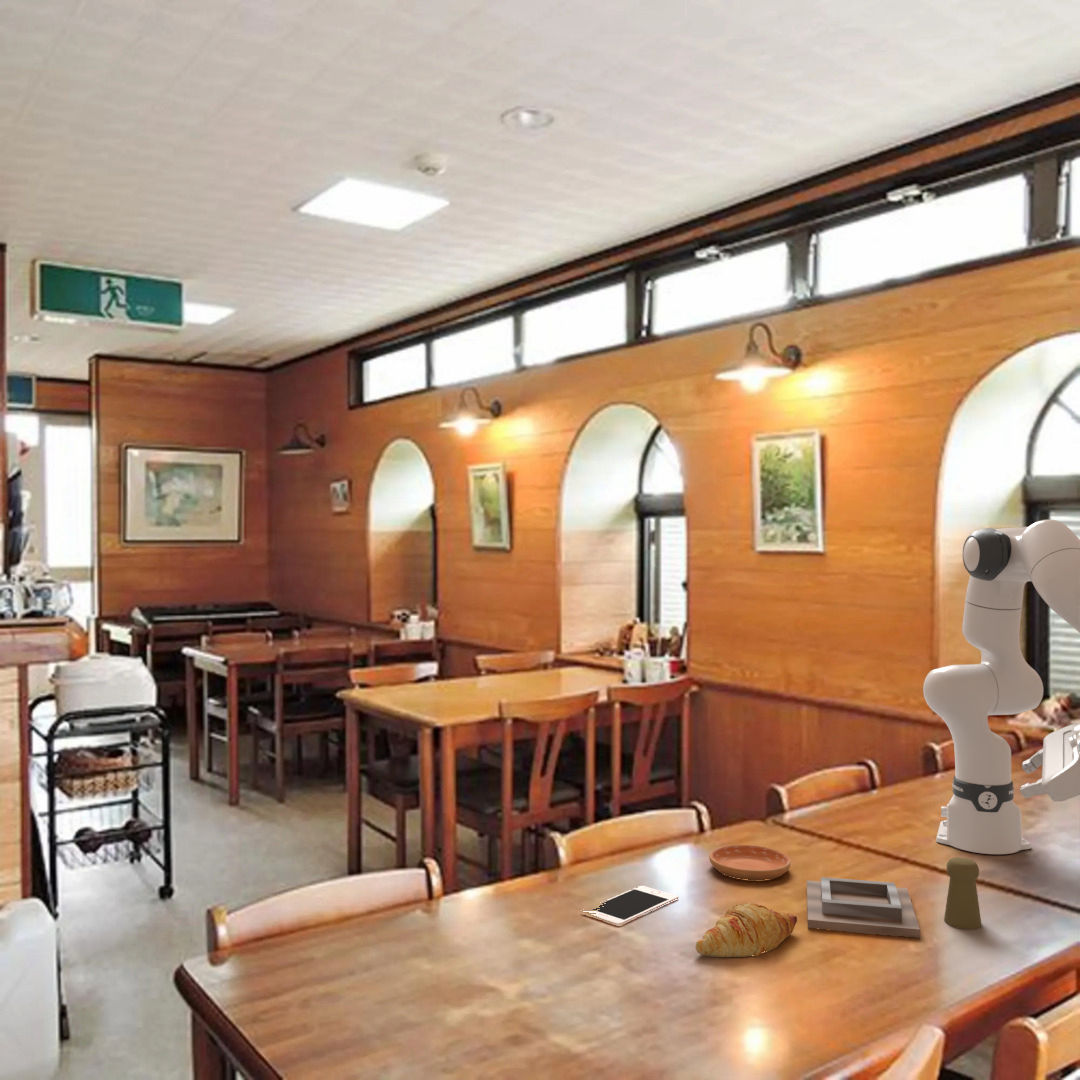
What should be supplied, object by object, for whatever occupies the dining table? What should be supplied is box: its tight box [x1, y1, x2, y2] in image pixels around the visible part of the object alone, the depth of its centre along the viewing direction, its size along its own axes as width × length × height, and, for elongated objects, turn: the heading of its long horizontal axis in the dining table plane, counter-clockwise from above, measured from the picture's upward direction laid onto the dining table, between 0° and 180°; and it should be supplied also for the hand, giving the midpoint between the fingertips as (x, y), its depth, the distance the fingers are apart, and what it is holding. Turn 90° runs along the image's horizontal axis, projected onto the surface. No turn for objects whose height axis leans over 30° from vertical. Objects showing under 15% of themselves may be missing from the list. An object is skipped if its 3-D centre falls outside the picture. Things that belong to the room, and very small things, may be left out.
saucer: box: [708, 844, 792, 880], centre depth 202 cm, size 16×16×3 cm
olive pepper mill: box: [943, 856, 983, 930], centre depth 175 cm, size 6×6×11 cm
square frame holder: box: [806, 876, 921, 939], centre depth 180 cm, size 20×18×4 cm
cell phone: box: [583, 885, 680, 924], centre depth 183 cm, size 9×18×1 cm, turn 137°
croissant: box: [695, 902, 798, 958], centre depth 166 cm, size 21×10×8 cm, turn 122°
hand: (1023, 780), depth 174 cm, fingers open, 8 cm apart
